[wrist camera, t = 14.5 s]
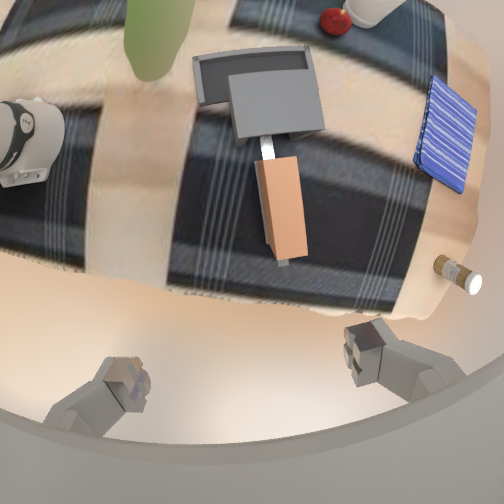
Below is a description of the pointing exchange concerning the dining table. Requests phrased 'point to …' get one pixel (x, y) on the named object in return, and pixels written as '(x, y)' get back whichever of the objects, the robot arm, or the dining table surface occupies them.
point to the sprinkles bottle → (458, 274)
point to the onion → (335, 21)
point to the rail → (267, 154)
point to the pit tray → (243, 67)
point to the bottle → (369, 11)
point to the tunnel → (274, 104)
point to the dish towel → (446, 135)
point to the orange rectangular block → (282, 206)
